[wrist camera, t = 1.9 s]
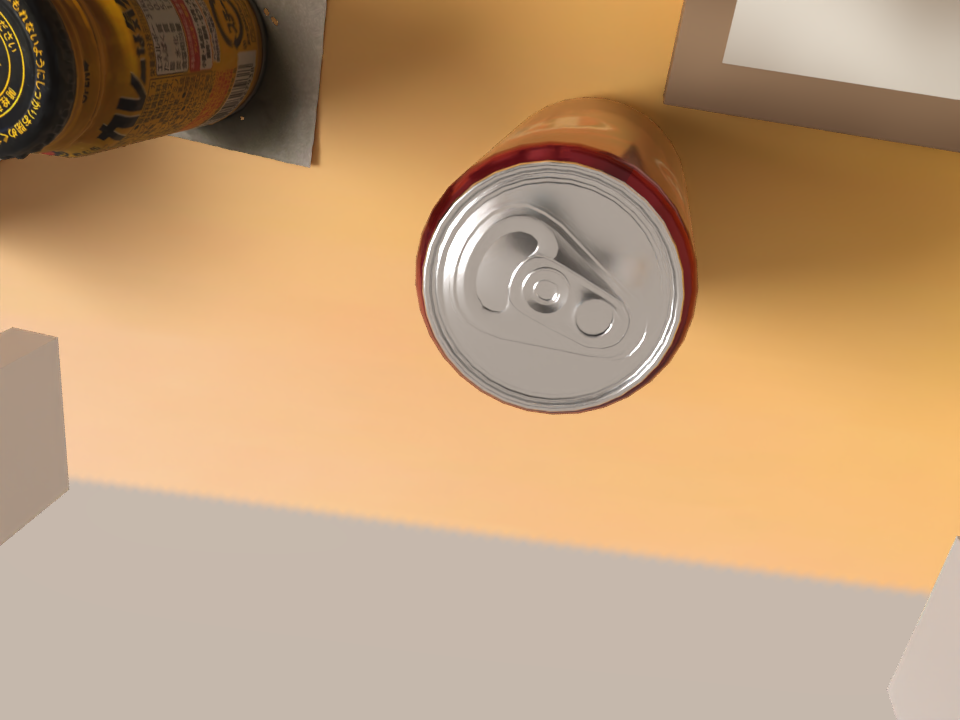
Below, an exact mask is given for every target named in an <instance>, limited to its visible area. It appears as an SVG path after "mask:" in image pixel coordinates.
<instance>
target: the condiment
mask: <svg viewBox="0 0 960 720" xmlns="http://www.w3.org/2000/svg"><path fill="white" fill-rule="evenodd" d="M264 8H266V9H267V10H268V12H269V16H266V15H265V13H264ZM325 16H326V0H0V159H3V160H5V159H10V158H14V157H16V158H17V159H24V158H25V157H26V156H27V155H28V154H30V153H43V154H47V155H55V156H62V157H67V158H69V157H80V156H88V155H92V154H95V153H98V152H102V151H107V150H111V149H115V148H118V147H121V146H123V147H125V146H126V145H129V144H133V143H137V142H141V141H145V140H150V139H153V138H157V137H162V136H165V135H169V136H175V137H179V138H184V139H188V140H191V141H197V142H201V143H205V144H209V145H213V146H218V147H221V148H225V149H229V150H235V151H239V152H244V153H248V154H252V155H258V156H262V157H266V158H271V159H275V160H278V161H282V162H286V163H290V164H296V165H300V166H304V167H309V168H310V164H311V156H312V146H313V142H314V131H315V122H316V108H317V103H318V94H319V83H320V71H321V61H322V58H323V57H322V55H323V33H324V23H325ZM271 17H274V18H275V19H276V20H277V21H278V25H277V26H276V25H275V24H274V23H273V22H272V20H271ZM241 116H243V117H244V120H241V118H240V117H241Z"/></svg>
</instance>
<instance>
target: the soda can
mask: <svg viewBox="0 0 960 720" xmlns="http://www.w3.org/2000/svg"><path fill="white" fill-rule="evenodd" d="M415 285H416V290H417V296H418V302H419V307H420V311H421V314H422V316H423V319H424V322H425V324H426V327H427V330H428V332H429V335H430V337H431V338H432V340H433V341H434V343H435V345H436V346H437V348H438V350H439V351H440V353H441V354H442V356H443V357H444V359H445V360H446V361H447V362H448V363H449V364H450V365H451V366H452V367H453V368H454V370H455V371H456V372H457V373H458V374H459V375H460V376H461V377H462V378H464V379H465V380H466V381H467V382H469V383H470V384H471V385H473V386H474V387H475V388H477V389H478V390H479V391H480V392H482V393H484V394H486V395H488V396H490V397H492V398H494V399H496V400H498V401H500V402H501V403H504V404H507V405H510V406H513V407H516V408H519V409H523V410H526V411H531V412H538V413H546V414H576V413H583V412H587V411H591V410H596V409H600V408H604V407H607V406H609V405H611V404H613V403H616V402H618V401H620V400H623V399H625V398H627V397H629V396H631V395H632V394H634V393H635V392H637V391H638V390H640V389H641V388H643V387H644V386H646V385H647V384H648V383H650V382H651V381H652V380H653V379H654V378H655V377H656V376H657V375H658V374H659V373H660V372H661V371H662V370H663V369H664V368H665V367H666V366H667V365H668V364H669V363H670V362H671V360H672V358H673V357H674V355H675V354H676V352H677V351H678V349H679V348H680V346H681V345H682V343H683V342H684V340H685V337H686V334H687V332H688V329H689V327H690V324H691V322H692V319H693V316H694V311H695V305H696V299H697V293H698V275H697V259H696V252H695V245H694V238H693V231H692V224H691V217H690V210H689V203H688V196H687V189H686V182H685V177H684V173H683V169H682V165H681V162H680V159H679V157H678V155H677V153H676V151H675V149H674V147H673V145H672V143H671V141H670V140H669V139H668V138H667V136H666V135H665V134H664V133H663V131H662V130H661V129H660V128H659V126H657V125H656V124H655V123H654V122H653V121H651V120H650V119H649V118H648V117H647V116H645V115H644V114H643V113H641V112H639V111H637V110H635V109H633V108H632V107H630V106H628V105H626V104H623V103H619V102H616V101H612V100H609V99H604V98H591V97H583V98H575V99H567V100H563V101H560V102H558V103H555V104H552V105H549V106H546V107H544V108H543V109H541V110H539V111H538V112H536V113H534V114H533V115H531V116H529V117H528V118H527V119H526V120H525V121H523V122H522V123H521V124H520V125H519V126H518V127H517V128H515V129H514V130H513V131H512V132H511V133H510V134H508V135H507V136H506V137H505V138H504V139H503V140H501V141H500V142H499V143H498V144H497V145H496V146H495V147H493V148H492V149H491V150H490V151H489V152H488V153H486V154H485V155H484V156H483V157H482V158H481V159H479V160H478V161H477V162H476V163H475V164H474V165H473V166H471V167H470V168H469V169H468V170H467V171H466V172H465V173H464V174H462V175H461V176H460V177H459V178H458V179H457V180H456V181H455V182H453V183H452V184H451V185H450V186H449V187H448V188H447V190H446V191H445V193H444V194H443V195H442V197H441V198H440V199H439V201H438V202H437V203H436V205H435V206H434V208H433V209H432V211H431V213H430V216H429V218H428V220H427V222H426V224H425V227H424V229H423V231H422V234H421V238H420V243H419V247H418V252H417V256H416V280H415Z"/></svg>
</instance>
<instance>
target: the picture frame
mask: <svg viewBox="0 0 960 720" xmlns="http://www.w3.org/2000/svg"><path fill="white" fill-rule="evenodd" d="M663 98H664V104H667V105H673V106H679V107H685V108H691V109H697V110H703V111H709V112H715V113H721V114H728V115H734V116H740V117H746V118H752V119H758V120H764V121H770V122H776V123H783V124H789V125H795V126H801V127H807V128H813V129H819V130H825V131H831V132H838V133H844V134H850V135H856V136H862V137H868V138H874V139H880V140H886V141H893V142H899V143H905V144H911V145H917V146H923V147H929V148H935V149H941V150H948V151H954V152H960V0H684V2H683V7H682V12H681V16H680V21H679V25H678V30H677V35H676V39H675V44H674V48H673V53H672V58H671V62H670V67H669V71H668V76H667V81H666V85H665V90H664V94H663Z"/></svg>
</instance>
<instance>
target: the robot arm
mask: <svg viewBox="0 0 960 720" xmlns="http://www.w3.org/2000/svg"><path fill="white" fill-rule="evenodd" d="M68 490H69V480H68V466H67V453H66V440H65V426H64V413H63V399H62V386H61V373H60V359H59V346H58V337H54V336H50V335H45V334H40V333H36V332H31V331H27V330H22V329H18V328H13V327H12V328H10V329H8V330H6V331H4V332H2V333H0V545H2V544H3V543H4V542H5V541H7V540H8V539H9V538H10V537H12V536H13V535H14V534H15V533H16V532H18V531H19V530H20V529H21V528H23V527H24V526H25V525H26V524H27V523H29V522H30V521H31V520H32V519H34V518H35V517H36V516H37V515H39V514H40V513H41V512H42V511H43V510H45V509H46V508H47V507H48V506H50V505H51V504H52V503H53V502H54V501H56V500H57V499H58V498H59V497H61V496H62V495H63V494H64V493H65V492H67V491H68ZM887 691H888V695H889V697H890V700H891V704H892V707H893V710H894V713H895V716H896V719H897V720H960V537H959V536H956V539H955V541H954V543H953V545H952V547H951V550H950V552H949V554H948V556H947V558H946V561H945V563H944V565H943V567H942V569H941V572H940V574H939V576H938V578H937V580H936V583H935V585H934V587H933V589H932V592H931V594H930V596H929V598H928V600H927V603H926V605H925V607H924V609H923V612H922V614H921V616H920V618H919V620H918V622H917V625H916V627H915V629H914V631H913V633H912V636H911V638H910V640H909V642H908V645H907V647H906V649H905V651H904V654H903V655H902V658H901V660H900V662H899V664H898V667H897V669H896V671H895V673H894V675H893V678H892V680H891V682H890V684H889V687H888V689H887Z"/></svg>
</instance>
